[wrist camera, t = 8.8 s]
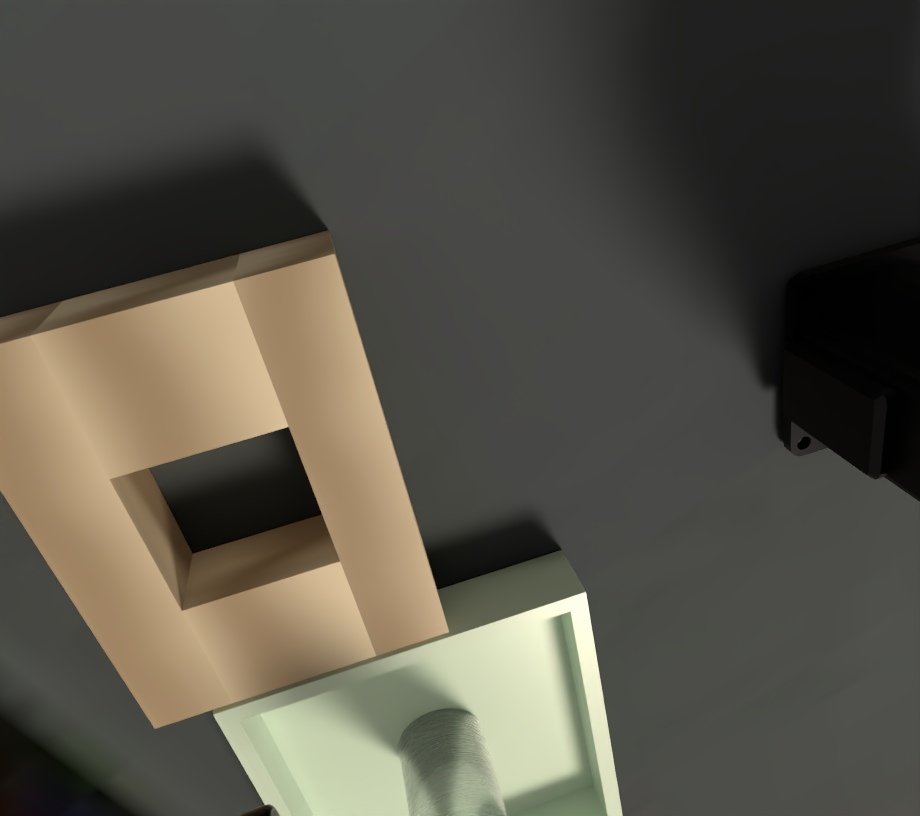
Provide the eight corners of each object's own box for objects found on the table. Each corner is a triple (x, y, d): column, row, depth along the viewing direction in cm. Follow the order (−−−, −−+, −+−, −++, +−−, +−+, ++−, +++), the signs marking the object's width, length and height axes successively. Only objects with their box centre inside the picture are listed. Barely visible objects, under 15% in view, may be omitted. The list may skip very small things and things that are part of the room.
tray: (562, 549, 24) (586, 592, 22) (602, 776, 30) (624, 825, 28) (219, 660, 23) (213, 714, 21) (334, 872, 29) (337, 930, 27)
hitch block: (329, 230, 18) (334, 253, 16) (434, 579, 23) (449, 632, 21) (-34, 326, 17) (-81, 365, 15) (167, 664, 23) (155, 728, 20)
